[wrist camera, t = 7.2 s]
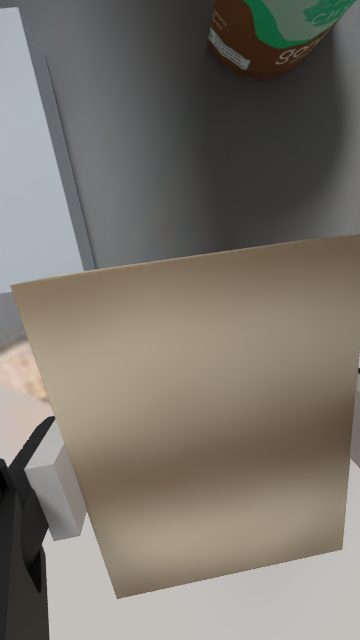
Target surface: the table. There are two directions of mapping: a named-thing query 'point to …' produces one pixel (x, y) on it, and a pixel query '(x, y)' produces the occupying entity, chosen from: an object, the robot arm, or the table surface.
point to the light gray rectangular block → (34, 168)
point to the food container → (269, 33)
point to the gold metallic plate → (205, 404)
